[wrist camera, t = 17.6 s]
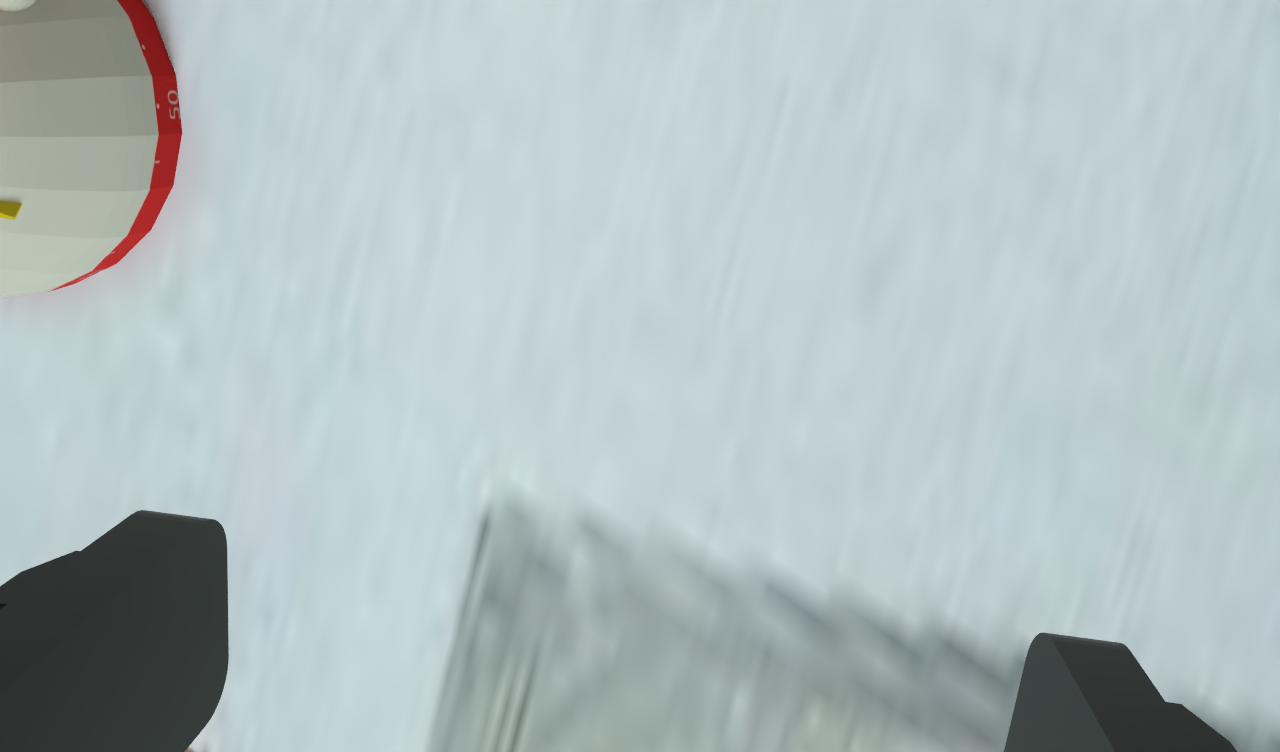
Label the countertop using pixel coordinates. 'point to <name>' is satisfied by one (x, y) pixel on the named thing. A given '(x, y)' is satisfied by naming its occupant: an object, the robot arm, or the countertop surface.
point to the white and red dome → (80, 137)
